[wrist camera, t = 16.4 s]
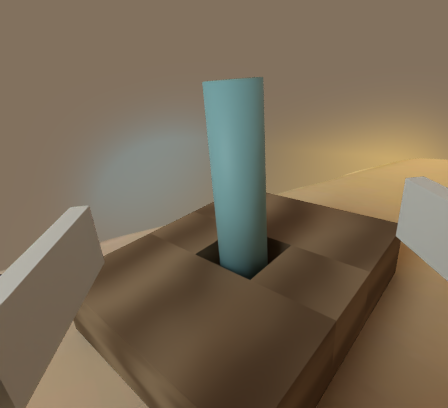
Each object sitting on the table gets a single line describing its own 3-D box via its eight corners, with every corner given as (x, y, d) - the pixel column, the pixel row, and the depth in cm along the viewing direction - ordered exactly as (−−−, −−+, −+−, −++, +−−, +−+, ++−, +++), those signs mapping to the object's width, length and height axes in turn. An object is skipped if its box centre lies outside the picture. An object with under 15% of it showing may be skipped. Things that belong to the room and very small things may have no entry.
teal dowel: (277, 295, 24) (275, 76, 18) (250, 322, 22) (236, 80, 15) (242, 279, 26) (229, 78, 20) (214, 302, 24) (189, 83, 17)
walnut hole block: (394, 272, 26) (403, 224, 24) (250, 517, 12) (244, 451, 10) (244, 223, 36) (242, 187, 34) (76, 328, 22) (58, 278, 21)
